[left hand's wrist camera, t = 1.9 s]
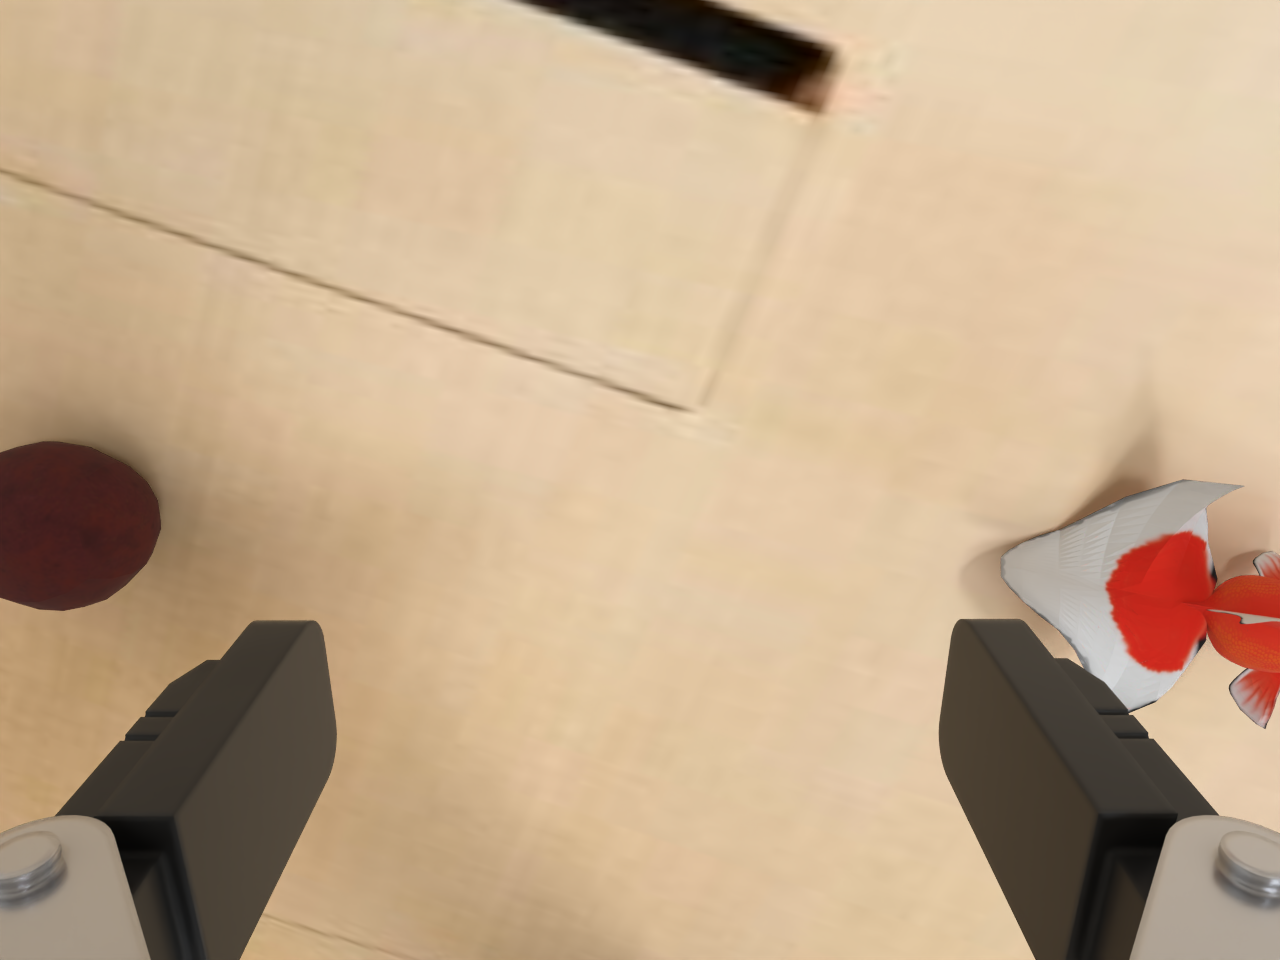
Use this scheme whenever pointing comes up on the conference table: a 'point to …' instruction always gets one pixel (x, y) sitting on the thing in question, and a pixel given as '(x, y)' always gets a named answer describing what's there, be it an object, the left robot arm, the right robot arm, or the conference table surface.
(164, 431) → the conference table surface
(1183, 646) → the fish
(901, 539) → the conference table surface
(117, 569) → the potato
